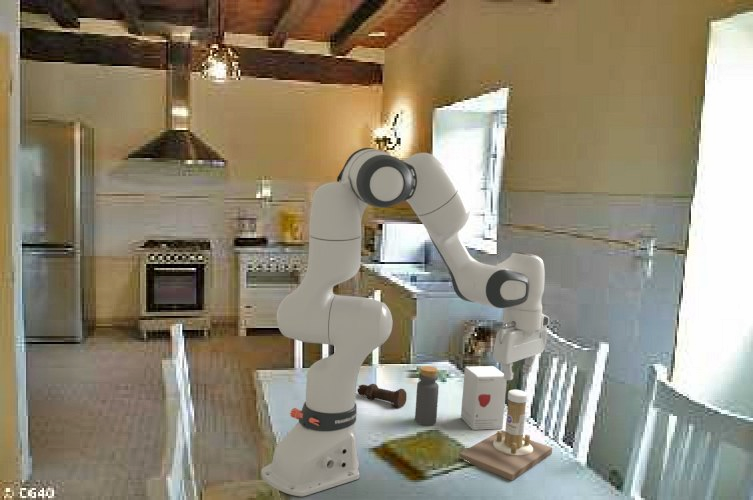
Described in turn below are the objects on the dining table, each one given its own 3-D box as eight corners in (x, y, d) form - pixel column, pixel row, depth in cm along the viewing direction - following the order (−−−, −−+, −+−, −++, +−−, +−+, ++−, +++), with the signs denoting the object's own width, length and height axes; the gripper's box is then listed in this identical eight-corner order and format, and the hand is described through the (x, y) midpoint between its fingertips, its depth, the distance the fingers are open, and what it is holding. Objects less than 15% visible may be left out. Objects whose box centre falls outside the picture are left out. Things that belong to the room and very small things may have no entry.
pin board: (512, 480, 130) (513, 463, 129) (459, 459, 139) (460, 443, 139) (551, 453, 145) (553, 438, 144) (501, 435, 154) (502, 420, 153)
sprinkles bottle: (500, 443, 145) (504, 391, 143) (510, 439, 148) (515, 387, 146) (516, 450, 141) (520, 396, 140) (526, 445, 145) (531, 393, 143)
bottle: (435, 427, 157) (438, 372, 155) (413, 424, 158) (416, 370, 157) (437, 418, 163) (440, 366, 161) (416, 416, 164) (419, 364, 162)
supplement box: (472, 430, 156) (476, 376, 154) (460, 417, 165) (463, 365, 163) (503, 429, 158) (508, 375, 157) (489, 416, 167) (493, 365, 165)
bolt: (360, 400, 179) (403, 411, 171) (352, 396, 175) (396, 407, 167) (366, 382, 181) (408, 391, 173) (358, 377, 177) (401, 387, 169)
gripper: (513, 327, 131) (508, 387, 132) (552, 317, 147) (548, 371, 148) (488, 322, 135) (484, 380, 136) (529, 313, 151) (525, 366, 152)
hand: (517, 375), depth 142 cm, fingers open, 8 cm apart
